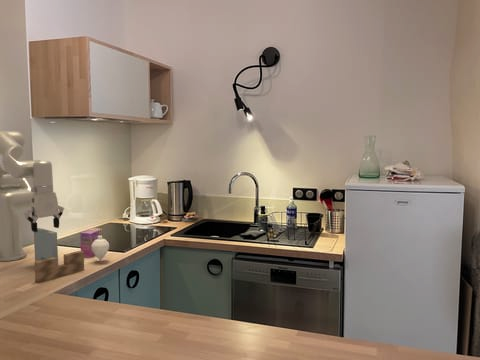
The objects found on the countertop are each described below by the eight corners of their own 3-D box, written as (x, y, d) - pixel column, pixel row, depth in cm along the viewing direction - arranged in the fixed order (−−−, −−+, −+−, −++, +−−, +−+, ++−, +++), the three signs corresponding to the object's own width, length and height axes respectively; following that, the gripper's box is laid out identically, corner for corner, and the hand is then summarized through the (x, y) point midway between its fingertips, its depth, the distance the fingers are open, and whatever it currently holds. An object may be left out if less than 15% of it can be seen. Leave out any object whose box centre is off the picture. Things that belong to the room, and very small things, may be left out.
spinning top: (91, 265, 186) (90, 238, 185) (92, 260, 193) (91, 234, 192) (109, 263, 188) (108, 237, 187) (109, 259, 195) (109, 233, 194)
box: (91, 258, 197) (90, 233, 196) (80, 257, 198) (79, 232, 197) (103, 252, 207) (102, 228, 206) (92, 251, 208) (91, 227, 207)
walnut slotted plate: (38, 283, 163) (37, 262, 162) (35, 281, 165) (34, 261, 164) (84, 269, 179) (83, 251, 178) (80, 268, 181) (80, 250, 180)
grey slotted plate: (58, 269, 180) (56, 232, 178) (52, 270, 178) (51, 233, 176) (40, 263, 188) (39, 228, 187) (35, 264, 186) (33, 229, 185)
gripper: (28, 192, 170) (30, 234, 172) (67, 188, 184) (69, 227, 186) (18, 191, 175) (21, 232, 176) (57, 187, 189) (59, 225, 190)
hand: (45, 229), depth 181 cm, fingers open, 9 cm apart
